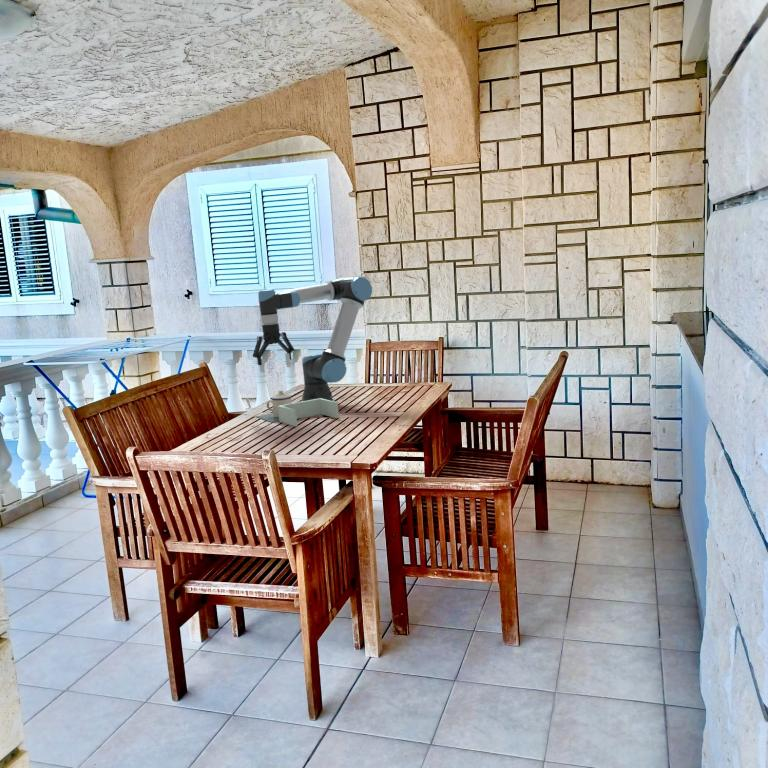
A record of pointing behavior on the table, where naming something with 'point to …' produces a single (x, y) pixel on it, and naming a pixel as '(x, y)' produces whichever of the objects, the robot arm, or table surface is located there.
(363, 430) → the table surface
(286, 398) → the teacup with lid
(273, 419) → the mat
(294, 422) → the bent sage-green plate
